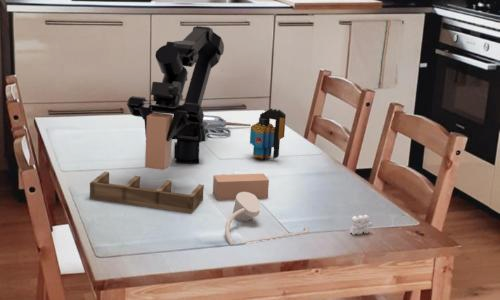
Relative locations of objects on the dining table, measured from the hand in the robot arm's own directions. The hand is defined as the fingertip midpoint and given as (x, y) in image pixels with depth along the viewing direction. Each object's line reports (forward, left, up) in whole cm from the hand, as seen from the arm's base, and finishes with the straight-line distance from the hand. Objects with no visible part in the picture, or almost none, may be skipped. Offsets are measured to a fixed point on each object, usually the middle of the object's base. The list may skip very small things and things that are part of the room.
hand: (157, 139), depth 202 cm
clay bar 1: (0, -1, -7) cm, 7 cm away
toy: (-31, -29, -14) cm, 45 cm away
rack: (+2, +6, -13) cm, 15 cm away
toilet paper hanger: (-23, +21, -14) cm, 34 cm away
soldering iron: (-16, -52, -14) cm, 56 cm away
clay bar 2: (-21, +2, -14) cm, 25 cm away
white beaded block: (-47, +24, -14) cm, 55 cm away
